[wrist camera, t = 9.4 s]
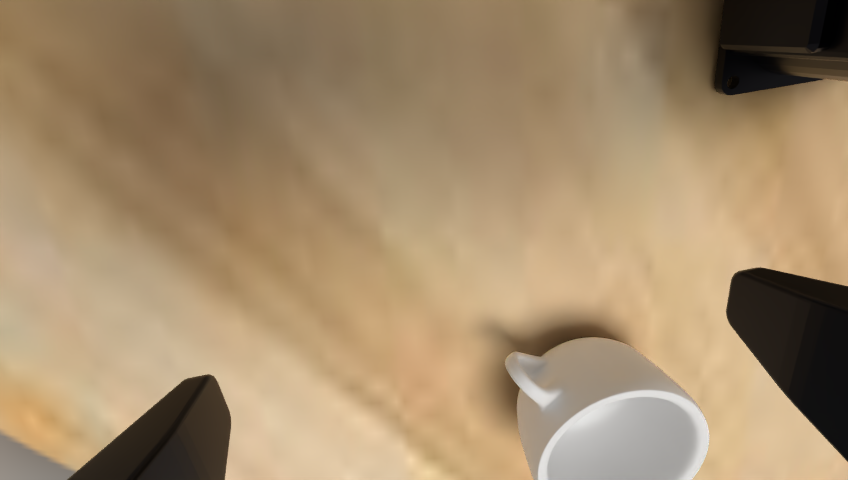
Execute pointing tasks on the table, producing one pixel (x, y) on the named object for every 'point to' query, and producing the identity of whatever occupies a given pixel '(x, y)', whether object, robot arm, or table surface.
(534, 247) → the table surface
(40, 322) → the table surface
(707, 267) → the table surface
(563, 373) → the teacup
